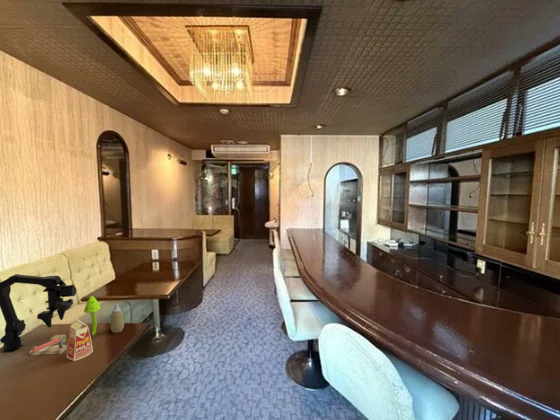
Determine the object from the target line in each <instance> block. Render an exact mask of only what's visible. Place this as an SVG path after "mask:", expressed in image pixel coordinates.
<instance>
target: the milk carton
mask: <svg viewBox="0 0 560 420" xmlns="http://www.w3.org/2000/svg"><path fill="white" fill-rule="evenodd" d="M66 351H67V353H66V358H67V359H69V360H71V361H73V362H76V361H78V360H81V359H83V358H86V357H87V356H90V355H91V354H92V353H93V352H94V350H93V344H92V337H91V332H90V329H89V325H87V324H85V322H83V321H81V320H80V319H78V318H75V321H74V322H73V323H72V324H70V327H69V337H68V344H67V350H66Z"/></svg>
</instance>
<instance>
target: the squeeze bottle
mask: <svg viewBox="0 0 560 420" xmlns="http://www.w3.org/2000/svg"><path fill="white" fill-rule="evenodd" d="M109 323H110V324H109V328H110V330H111V333H113V334H118V333H120V332H123V330H124V327H125V319H124V313H123V311H122V308H121V307H119V304H118V303H115V305H114V307H113V309H112V312H111V314H110V322H109Z"/></svg>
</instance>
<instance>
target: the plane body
mask: <svg viewBox="0 0 560 420" xmlns="http://www.w3.org/2000/svg"><path fill="white" fill-rule="evenodd" d="M36 347H37V345H32V346H31V350H30V351H29V353H28V354H29V356H39V355H40V356H41V355H42V356H44V355H58V354H59V355H60V354H62V353H63V352H65V351H67V350H68V344H64V343H63V344H62V341H59V345H51V346H48V347H46V348H44V349H42V350H40V351H37V352H33V349H34V348H36Z"/></svg>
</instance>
